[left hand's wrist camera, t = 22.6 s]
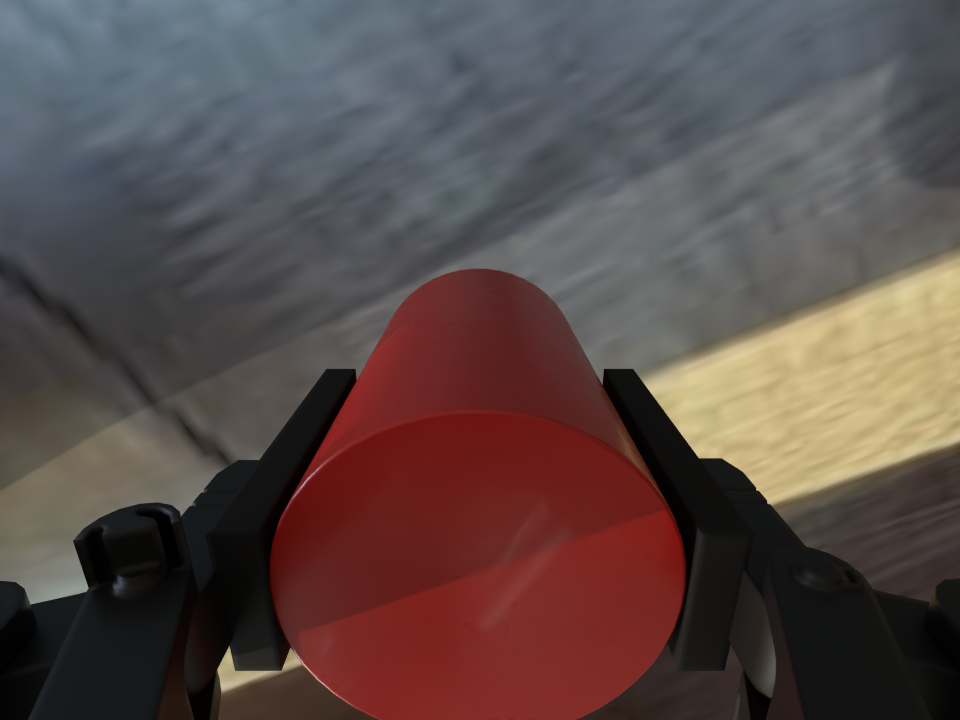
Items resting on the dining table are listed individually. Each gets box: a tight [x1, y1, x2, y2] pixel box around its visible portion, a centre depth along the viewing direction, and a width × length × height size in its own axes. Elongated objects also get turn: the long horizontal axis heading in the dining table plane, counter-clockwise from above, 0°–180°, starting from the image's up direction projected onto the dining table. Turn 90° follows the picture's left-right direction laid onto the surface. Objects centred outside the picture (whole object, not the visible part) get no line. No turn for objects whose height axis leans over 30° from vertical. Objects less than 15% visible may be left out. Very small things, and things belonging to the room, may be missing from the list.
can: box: [269, 269, 686, 720], centre depth 13 cm, size 6×6×10 cm
